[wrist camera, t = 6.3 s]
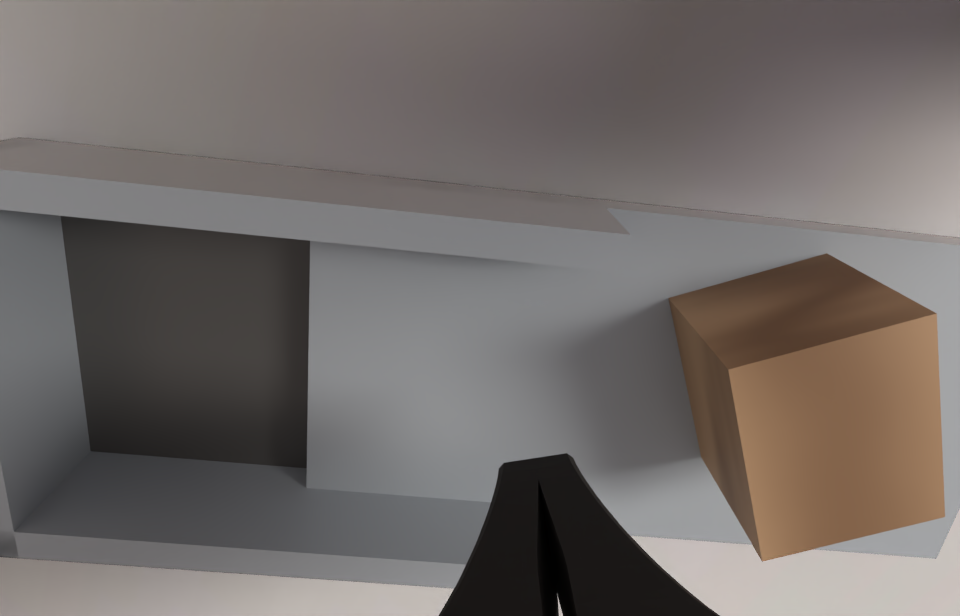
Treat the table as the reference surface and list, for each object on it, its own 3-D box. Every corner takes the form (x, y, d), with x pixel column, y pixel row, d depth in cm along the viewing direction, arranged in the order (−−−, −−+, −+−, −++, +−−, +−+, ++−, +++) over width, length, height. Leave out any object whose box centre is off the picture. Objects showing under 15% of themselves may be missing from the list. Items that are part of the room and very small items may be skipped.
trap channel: (1043, 246, 17) (1178, 292, 14) (914, 535, 21) (999, 626, 17) (19, 137, 16) (-100, 158, 12) (67, 470, 19) (-16, 556, 16)
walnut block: (826, 253, 16) (936, 313, 12) (844, 420, 18) (945, 517, 14) (668, 298, 16) (728, 369, 13) (701, 457, 18) (762, 561, 14)
